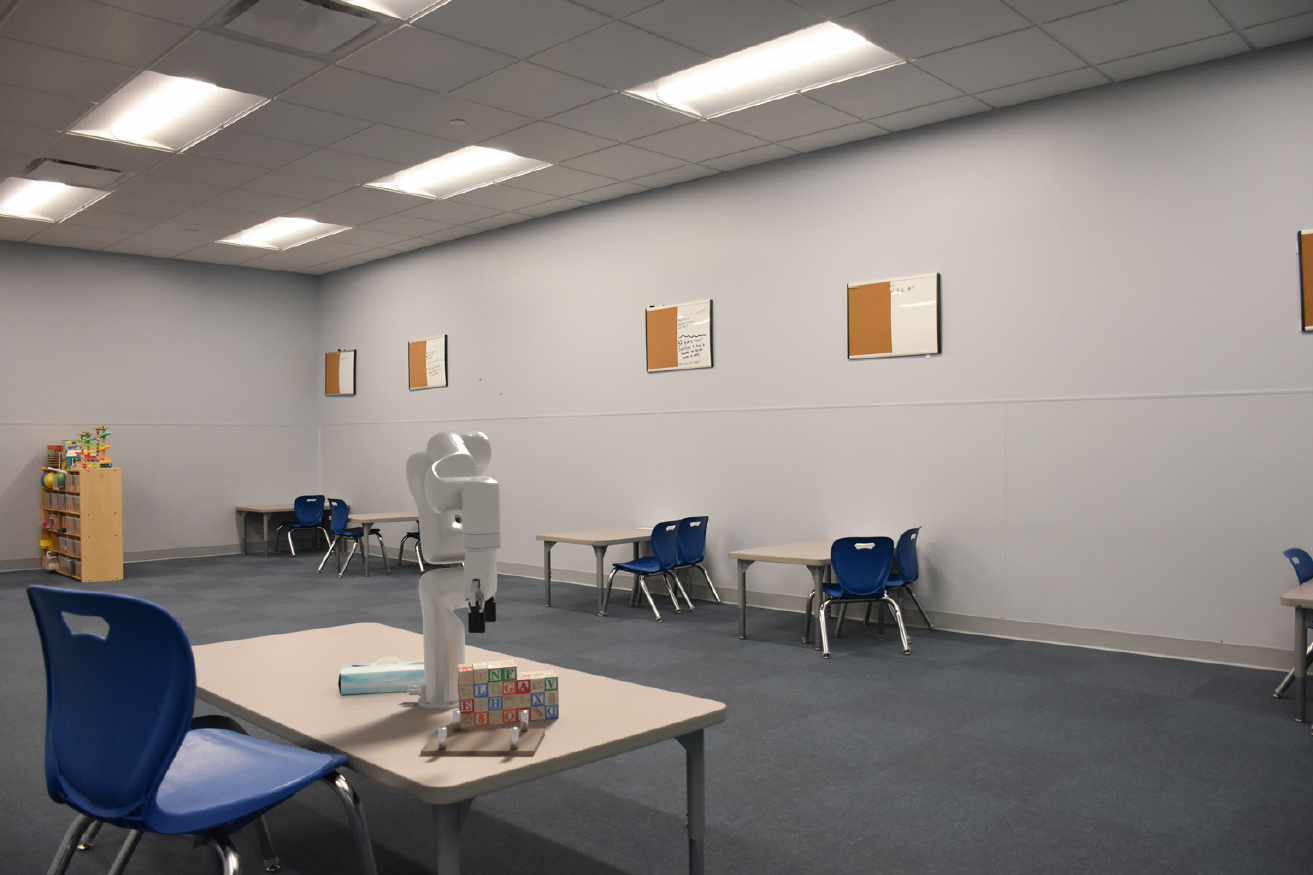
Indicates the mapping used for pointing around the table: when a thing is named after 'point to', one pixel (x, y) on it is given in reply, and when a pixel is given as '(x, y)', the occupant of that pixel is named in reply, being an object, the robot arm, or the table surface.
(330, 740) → the table surface
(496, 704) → the stack of blocks
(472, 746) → the pin board
